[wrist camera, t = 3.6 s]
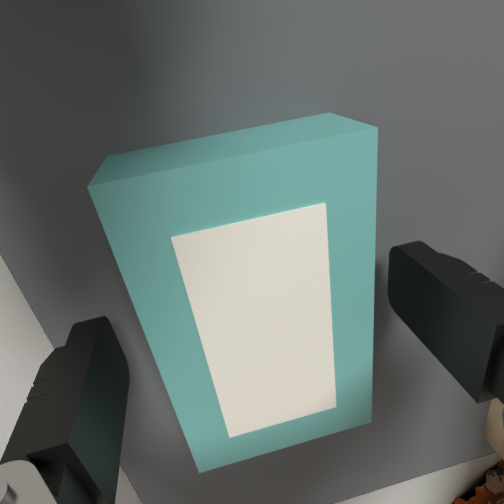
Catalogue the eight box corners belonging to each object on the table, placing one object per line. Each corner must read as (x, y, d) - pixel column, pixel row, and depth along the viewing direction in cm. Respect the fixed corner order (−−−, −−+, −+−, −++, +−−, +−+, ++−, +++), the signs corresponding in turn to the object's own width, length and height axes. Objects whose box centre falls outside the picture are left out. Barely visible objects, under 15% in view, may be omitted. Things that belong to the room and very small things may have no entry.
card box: (107, 155, 8) (86, 188, 6) (329, 112, 9) (379, 128, 7) (194, 406, 13) (199, 475, 11) (339, 366, 13) (372, 424, 11)
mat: (-135, -2, 7) (-147, -4, 6) (945, -153, 9) (967, -159, 9) (171, 547, 17) (172, 555, 17) (633, 401, 20) (639, 406, 20)
